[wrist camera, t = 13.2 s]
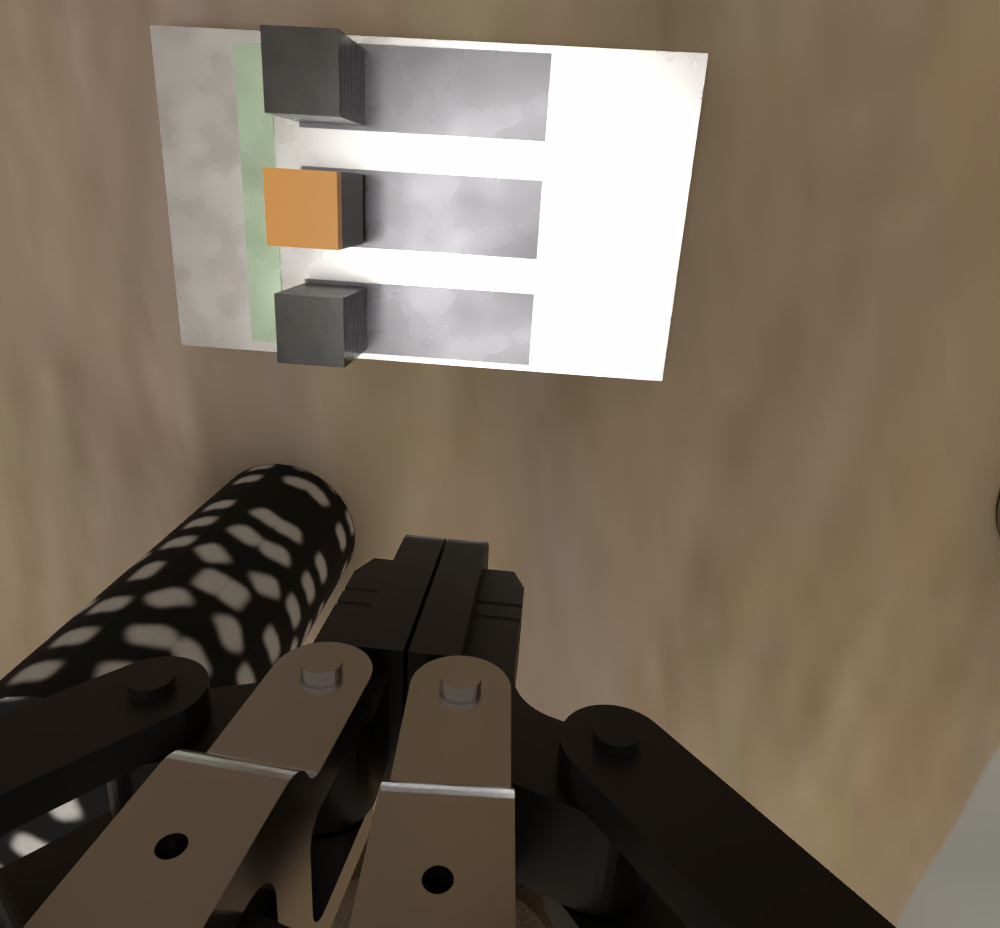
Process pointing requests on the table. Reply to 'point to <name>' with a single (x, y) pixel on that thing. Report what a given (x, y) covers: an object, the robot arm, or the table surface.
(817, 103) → the table surface
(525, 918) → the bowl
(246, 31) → the panel
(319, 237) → the block
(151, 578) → the spotted tube
